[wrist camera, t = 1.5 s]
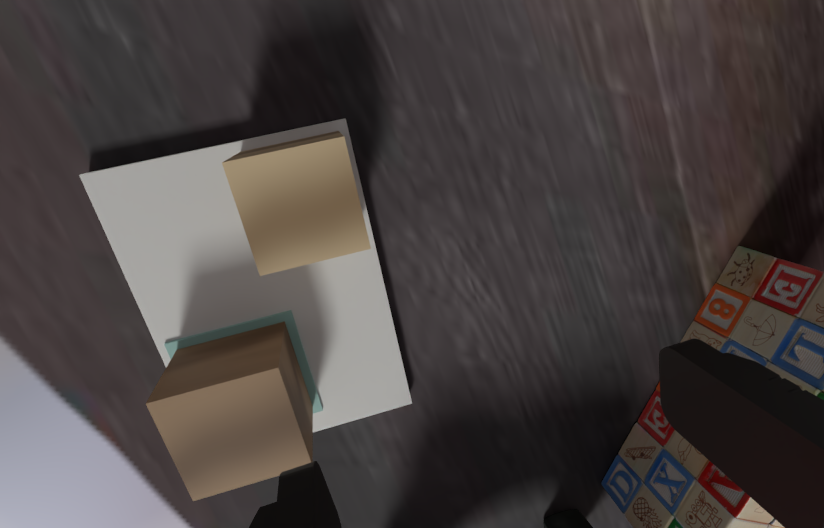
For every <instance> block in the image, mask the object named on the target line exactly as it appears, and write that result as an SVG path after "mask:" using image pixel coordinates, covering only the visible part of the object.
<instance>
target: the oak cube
mask: <svg viewBox="0 0 824 528" xmlns="http://www.w3.org/2000/svg"><path fill="white" fill-rule="evenodd" d="M222 165H223V168H224V171H225V174H226V177H227V180H228V183H229V186H230V189H231V191H232V194H233V197H234V200H235V203H236V206H237V209H238V212H239V215H240V218H241V221H242V224H243V227H244V230H245V233H246V236H247V239H248V242H249V245H250V248H251V251H252V254H253V257H254V260H255V263H256V266H257V269H258V272H259V275H260V276H263V275H267V274H271V273H275V272H279V271H283V270H287V269H291V268H295V267H299V266H303V265H307V264H311V263H315V262H319V261H323V260H327V259H331V258H335V257H339V256H343V255H347V254H352V253H356V252H360V251H364V250H368V249H371V246H370V242H369V238H368V234H367V230H366V225H365V221H364V217H363V213H362V209H361V204H360V200H359V196H358V192H357V188H356V183H355V179H354V175H353V171H352V166H351V162H350V158H349V154H348V150H347V145H346V141H345V137H344V135H342V134H341V133H340V132H339V131H335V132H330V133H326V134H321V135H316V136H312V137H307V138H302V139H298V140H293V141H288V142H283V143H279V144H274V145H269V146H265V147H260V148H255V149H251V150H246V151H241V152H239V153H237V154H236V155H234V156H232V157H231V158H229V159H227V160H225V161H224V162H222Z"/></svg>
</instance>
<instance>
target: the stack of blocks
mask: <svg viewBox="0 0 824 528" xmlns="http://www.w3.org/2000/svg"><path fill="white" fill-rule="evenodd" d="M690 339H699V340H702V341H703V342H705V343H707V344H708V345H710V346H712V347H714V348H715V349H717V350H719V351H720V352H722V353H731V354H734V355H737V356H740V357H743V358H746V359H750V360H753V361H756V362H758V363H759V364H761V365H763V366H765V367H766V368H768V369H770V370H772V371H773V372H775V373H777V374H779V375H780V377H781V378H782V379H783V378H786V379H787V380H789V381H791V382H793V383H794V384H796V385H798V386H800V388H801V390H803V391H804V390H807V391H808V392H810V393H812V394H814V395H815V396H817V397H819V398H821V399H822V400H824V272H823V271H819V270H816V269H813V268H809V267H806V266H803V265H800V264H796V263H793V262H790V261H786V260H783V259H778V258H775V257H773V256H770V255H767V254H764V253H761V252H758V251H755V250H751V249H748V248H745V247H742V246H738V247H737V248H736V250H735V252H734V253H733V255H732V257H731V258H730V260H729V262H728V264H727V265H726V267H725V269H724V270H723V272H722V274H721V275H720V277H719V279H718V281H717V282H716V283H715V284H714V286H713V287H712V289H711V291H710V293H709V294H708V296H707V298H706V299H705V301H704V303H703V305H702V306H701V308H700V310H699V311H698V313H697V315H696V317H695V319H694V321H693V322H692V323H691V325H690V327H689V328H688V330H687V332H686V334H685V335H684V337H683V339H682V340H681V342H684V341H687V340H690ZM681 342H680V343H681ZM601 484H602V486H603V487H604V489H605V490H606V491H607V492H608V494H609V495H610V496H611V498H612V499H613V501H614V502H615V503H616V504H617V506H618V507H619V509H620V510H621V511H622V513H624V514H625V516H626V518H627V520H628V521H629V522H630V523H631V525H632V526H633V527H634V528H785V527H784V526H782V525H781V524H780V523H779V522H778V521H777V520H776V519H775V518H773V517H772V516H771V515H770V514H769V513H768V512H767V511H766V510H764V509H763V508H762V507H761V506H760V505H759V504H758V503H756V502H755V501H754V500H753V499H752V498H751V497H750V496H749V495H747V494H746V493H745V492H744V491H743V490H742V489H741V488H740V487H738V486H737V485H736V484H735V483H734V482H733V481H732V480H731V479H729V478H728V477H727V476H726V475H725V474H724V473H723V472H722V471H720V470H719V469H718V468H717V467H716V466H715V465H714V464H713V463H711V462H710V461H709V460H708V459H707V458H706V457H705V456H704V455H702V454H701V453H700V452H699V451H698V450H697V449H696V448H695V447H693V446H692V445H691V444H690V443H689V442H688V441H687V440H686V439H684V438H683V437H682V436H681V435H680V434H679V433H678V432H677V431H676V430H675V429H674V428H673V427H672V426H671V425H670V424H669V422H668V421H667V419H666V417H665V415H664V413H663V410H662V407H661V401H660V381H659V383H658V385H657V387H656V390H655V391H654V393H653V395H652V396H651V398H650V400H649V401H648V403H647V405H646V407H645V409H644V410H643V412H642V414H641V416H640V417H639V419H638V422H637V423H635V425H634V426H633V428H632V430H631V432H630V433H629V435H628V437H627V439H626V440H625V442H624V444H623V446H622V447H621V449H620V451H619V453H618V455H617V456H616V457H615V459H614V461H613V463H612V464H611V466H610V468H609V470H608V472H607V473H606V475H605V477H604V479H603V480H602V483H601Z"/></svg>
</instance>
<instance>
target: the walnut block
mask: <svg viewBox="0 0 824 528" xmlns="http://www.w3.org/2000/svg"><path fill="white" fill-rule="evenodd" d="M146 405H147V407H148V409H149V411H150V413H151V416H152V418H153V420H154V422H155V424H156V426H157V428H158V430H159V432H160V434H161V436H162V438H163V440H164V442H165V444H166V446H167V448H168V451H169V453H170V455H171V457H172V459H173V461H174V463H175V465H176V467H177V469H178V471H179V473H180V475H181V477H182V479H183V481H184V483H185V485H186V488H187V490H188V492H189V494H190V496H191V498H192V500H193V501H196V500H199V499H202V498H206V497H209V496H212V495H216V494H219V493H222V492H226V491H229V490H232V489H236V488H239V487H242V486H246V485H249V484H252V483H256V482H259V481H262V480H266V479H269V478H272V477H276V476H279V475H280V474H281V472H284V471H287V470H290V469H293V468H296V467H299V466H302V465H305V464H308V463H311V462H312V443H313V406H312V403H311V400H310V397H309V394H308V390H307V387H306V384H305V381H304V378H303V375H302V372H301V369H300V366H299V363H298V360H297V357H296V354H295V351H294V348H293V345H292V342H291V339H290V336H289V333H288V330H287V327H286V324H285V321H284V322H281V323H277V324H273V325H269V326H265V327H261V328H258V329H254V330H250V331H246V332H242V333H238V334H235V335H231V336H227V337H223V338H219V339H215V340H212V341H208V342H204V343H200V344H196V345H192V346H189V347H185V348H181V349H177V350H176V352H175V354H174V355H173V357H172V359H171V361H170V362H169V364H168V366H167V367H166V369H165V371H164V373H163V374H162V376H161V378H160V380H159V381H158V383H157V385H156V387H155V388H154V390H153V392H152V394H151V395H150V397H149V399H148V401H147V402H146Z"/></svg>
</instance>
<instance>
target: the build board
mask: <svg viewBox="0 0 824 528" xmlns="http://www.w3.org/2000/svg"><path fill="white" fill-rule="evenodd" d="M335 131H339V132H340V133H341V134H342V135H344V137H345V141H346V145H347V150H348V154H349V158H350V162H351V166H352V171H353V175H354V179H355V183H356V188H357V192H358V196H359V200H360V204H361V209H362V213H363V217H364V221H365V225H366V230H367V234H368V238H369V242H370V246H371V249H368V250H364V251H360V252H356V253H352V254H347V255H343V256H339V257H335V258H331V259H327V260H323V261H319V262H315V263H311V264H307V265H303V266H299V267H295V268H291V269H287V270H283V271H279V272H275V273H271V274H267V275H263V276H260V275H259V272H258V269H257V266H256V263H255V260H254V257H253V254H252V251H251V248H250V245H249V242H248V239H247V236H246V233H245V230H244V227H243V224H242V221H241V218H240V215H239V212H238V209H237V206H236V203H235V200H234V197H233V194H232V191H231V189H230V186H229V183H228V180H227V177H226V174H225V171H224V168H223V165H222V162H224V161H225V160H227V159H229V158H231V157H232V156H234V155H236V154H237V153H239V152H241V151H246V150H251V149H255V148H260V147H265V146H269V145H274V144H279V143H283V142H288V141H293V140H298V139H302V138H307V137H312V136H316V135H321V134H326V133H330V132H335ZM79 176H80V178H81V180H82V182H83V185H84V187H85V189H86V191H87V194H88V196H89V198H90V200H91V202H92V205H93V207H94V209H95V211H96V213H97V216H98V218H99V220H100V222H101V225H102V227H103V229H104V231H105V233H106V236H107V238H108V240H109V242H110V244H111V247H112V249H113V251H114V253H115V256H116V258H117V260H118V262H119V264H120V267H121V269H122V271H123V273H124V275H125V278H126V280H127V282H128V284H129V287H130V289H131V291H132V293H133V295H134V298H135V300H136V302H137V304H138V306H139V309H140V311H141V313H142V315H143V318H144V320H145V322H146V324H147V326H148V329H149V331H150V333H151V335H152V338H153V340H154V342H155V344H156V346H157V349H158V351H159V353H160V355H161V357H162V360H163V362H164V364H165V366H166V367H167V366H168V364H169V362H170V361H171V359H172V357H173V355H174V354H175V352H176V350H177V349H181V348H185V347H189V346H192V345H196V344H200V343H204V342H208V341H212V340H215V339H219V338H223V337H227V336H231V335H235V334H238V333H242V332H246V331H250V330H254V329H258V328H261V327H265V326H269V325H273V324H277V323H281V322H284V321H285V324H286V327H287V330H288V333H289V336H290V339H291V342H292V345H293V348H294V351H295V354H296V357H297V360H298V363H299V366H300V369H301V372H302V375H303V378H304V381H305V384H306V387H307V390H308V394H309V397H310V400H311V403H312V406H313V432H316V431H320V430H323V429H327V428H330V427H333V426H337V425H340V424H344V423H347V422H351V421H354V420H357V419H361V418H364V417H368V416H371V415H374V414H378V413H381V412H385V411H388V410H392V409H395V408H398V407H402V406H405V405H409V404H412V401H411V396H410V392H409V388H408V384H407V379H406V375H405V371H404V366H403V362H402V358H401V354H400V349H399V345H398V341H397V336H396V332H395V328H394V324H393V319H392V315H391V311H390V306H389V302H388V298H387V294H386V289H385V285H384V281H383V276H382V272H381V268H380V263H379V259H378V255H377V251H376V246H375V242H374V238H373V233H372V229H371V225H370V221H369V216H368V212H367V208H366V203H365V199H364V195H363V191H362V186H361V182H360V178H359V173H358V169H357V165H356V161H355V156H354V152H353V148H352V143H351V139H350V135H349V131H348V126H347V122H346V119H345V118H344V119H339V120H334V121H330V122H325V123H320V124H315V125H311V126H306V127H301V128H296V129H292V130H287V131H282V132H277V133H273V134H268V135H263V136H258V137H254V138H249V139H244V140H239V141H235V142H230V143H225V144H220V145H216V146H211V147H206V148H201V149H197V150H192V151H187V152H182V153H178V154H173V155H168V156H163V157H159V158H154V159H149V160H144V161H140V162H135V163H130V164H125V165H120V166H116V167H111V168H106V169H101V170H97V171H92V172H88V173H84V174H81V175H79Z"/></svg>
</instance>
